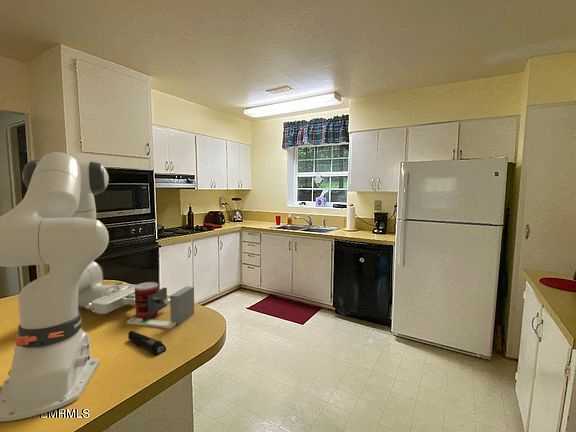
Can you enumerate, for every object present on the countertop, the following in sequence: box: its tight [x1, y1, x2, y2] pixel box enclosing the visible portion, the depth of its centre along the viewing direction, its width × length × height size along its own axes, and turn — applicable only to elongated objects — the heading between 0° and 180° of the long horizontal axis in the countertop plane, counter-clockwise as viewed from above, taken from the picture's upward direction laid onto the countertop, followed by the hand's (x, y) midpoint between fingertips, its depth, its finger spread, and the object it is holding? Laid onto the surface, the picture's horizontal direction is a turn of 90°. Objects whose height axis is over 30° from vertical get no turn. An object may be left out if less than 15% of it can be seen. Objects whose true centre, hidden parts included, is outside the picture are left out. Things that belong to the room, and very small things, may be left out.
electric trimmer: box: [127, 330, 167, 356], centre depth 86 cm, size 4×16×3 cm, turn 57°
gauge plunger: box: [143, 287, 170, 321], centre depth 104 cm, size 7×12×8 cm, turn 167°
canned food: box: [134, 281, 159, 318], centre depth 107 cm, size 8×8×11 cm
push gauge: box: [126, 286, 195, 329], centre depth 104 cm, size 18×13×10 cm
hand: (137, 300), depth 108 cm, fingers closed, pressing on canned food
